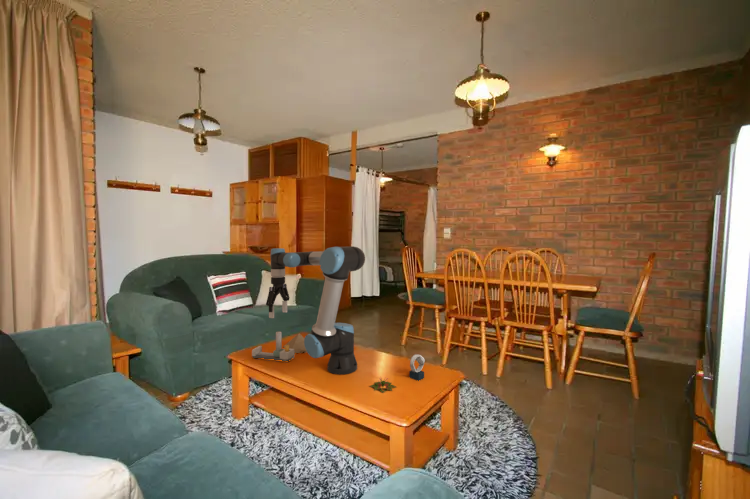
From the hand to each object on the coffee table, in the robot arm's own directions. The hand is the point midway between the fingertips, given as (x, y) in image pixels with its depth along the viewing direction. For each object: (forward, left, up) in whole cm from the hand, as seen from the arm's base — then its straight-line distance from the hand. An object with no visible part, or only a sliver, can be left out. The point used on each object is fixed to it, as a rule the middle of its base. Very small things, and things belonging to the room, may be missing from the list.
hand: (278, 315), depth 184 cm
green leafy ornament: (-59, -31, -25) cm, 71 cm away
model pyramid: (+10, -15, -25) cm, 31 cm away
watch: (-59, -50, -25) cm, 81 cm away
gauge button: (-4, -4, -20) cm, 21 cm away
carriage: (0, 0, -22) cm, 22 cm away
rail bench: (+2, +2, -24) cm, 25 cm away
